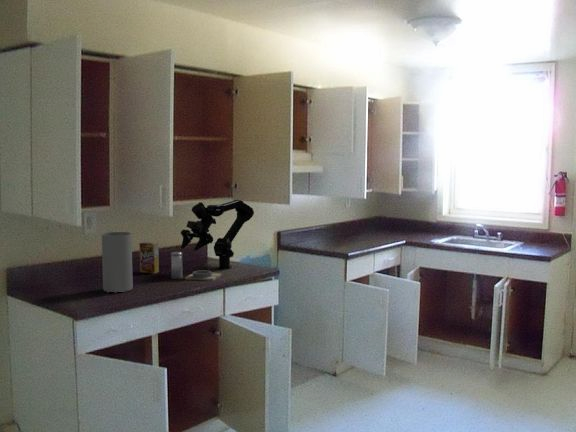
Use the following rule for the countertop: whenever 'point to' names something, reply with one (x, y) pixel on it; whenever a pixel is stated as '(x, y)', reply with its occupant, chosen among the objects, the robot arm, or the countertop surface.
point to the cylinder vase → (117, 261)
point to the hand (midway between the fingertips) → (188, 249)
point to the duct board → (213, 277)
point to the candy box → (149, 257)
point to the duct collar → (202, 274)
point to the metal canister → (176, 265)
